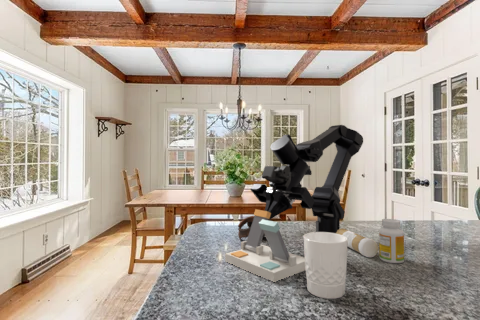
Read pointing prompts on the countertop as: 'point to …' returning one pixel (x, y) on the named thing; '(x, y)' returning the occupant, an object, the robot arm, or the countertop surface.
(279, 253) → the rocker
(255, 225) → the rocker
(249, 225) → the pottery mug
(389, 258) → the supplement bottle
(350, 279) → the countertop surface
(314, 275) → the white cup
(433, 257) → the countertop surface
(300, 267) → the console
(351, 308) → the countertop surface
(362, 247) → the sprinkles bottle
